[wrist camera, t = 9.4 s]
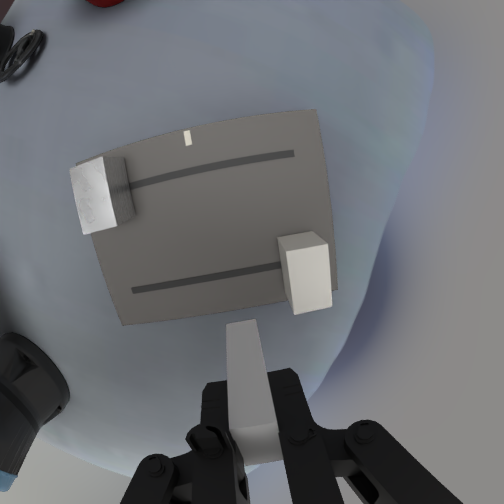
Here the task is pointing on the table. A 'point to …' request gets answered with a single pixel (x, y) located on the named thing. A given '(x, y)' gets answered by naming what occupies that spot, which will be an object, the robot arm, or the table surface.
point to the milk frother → (3, 38)
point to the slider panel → (215, 216)
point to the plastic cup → (104, 2)
